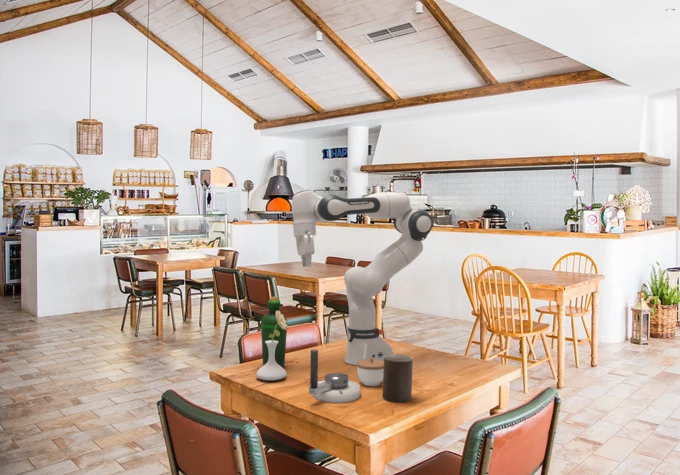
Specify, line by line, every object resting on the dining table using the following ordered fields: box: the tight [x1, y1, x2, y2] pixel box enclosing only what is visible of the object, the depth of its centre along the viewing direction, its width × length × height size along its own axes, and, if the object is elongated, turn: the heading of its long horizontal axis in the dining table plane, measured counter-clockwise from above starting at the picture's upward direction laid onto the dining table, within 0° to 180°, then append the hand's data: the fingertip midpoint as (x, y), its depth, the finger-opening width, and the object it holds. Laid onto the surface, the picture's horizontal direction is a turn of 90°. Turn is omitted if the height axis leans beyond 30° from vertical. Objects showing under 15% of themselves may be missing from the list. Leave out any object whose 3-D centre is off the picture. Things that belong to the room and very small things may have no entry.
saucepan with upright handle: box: [308, 349, 349, 396], centre depth 193 cm, size 17×8×14 cm, turn 143°
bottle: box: [260, 296, 288, 369], centre depth 229 cm, size 11×11×28 cm
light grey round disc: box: [312, 379, 361, 404], centre depth 197 cm, size 16×16×3 cm
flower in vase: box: [255, 310, 288, 381], centre depth 215 cm, size 13×11×25 cm
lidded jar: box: [356, 358, 384, 387], centre depth 210 cm, size 11×11×9 cm
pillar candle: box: [382, 353, 413, 403], centre depth 195 cm, size 10×10×15 cm
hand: (306, 266), depth 228 cm, fingers open, 8 cm apart
